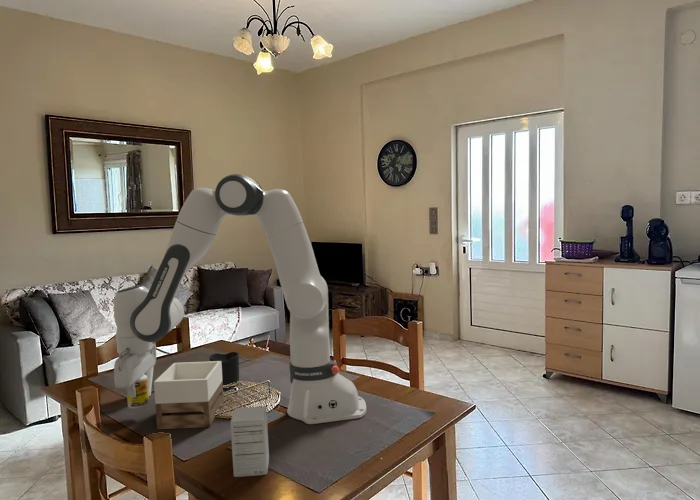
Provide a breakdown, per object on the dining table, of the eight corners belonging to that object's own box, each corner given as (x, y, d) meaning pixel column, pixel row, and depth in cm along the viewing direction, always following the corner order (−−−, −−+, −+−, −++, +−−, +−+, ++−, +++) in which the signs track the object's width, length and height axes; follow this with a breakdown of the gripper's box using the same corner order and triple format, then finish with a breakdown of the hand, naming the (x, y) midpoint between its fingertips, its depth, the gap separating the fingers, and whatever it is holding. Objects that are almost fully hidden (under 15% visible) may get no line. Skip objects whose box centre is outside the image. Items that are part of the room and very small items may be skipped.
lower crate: (223, 403, 147) (222, 380, 146) (209, 426, 131) (208, 401, 130) (176, 405, 146) (175, 382, 146) (157, 429, 130) (155, 403, 130)
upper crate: (222, 380, 146) (221, 361, 146) (208, 401, 130) (207, 379, 130) (175, 382, 146) (174, 362, 145) (155, 403, 130) (153, 381, 129)
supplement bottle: (129, 411, 134) (126, 374, 133) (126, 404, 139) (123, 369, 138) (151, 405, 137) (148, 370, 136) (147, 399, 142) (144, 365, 141)
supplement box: (237, 460, 113) (234, 407, 112) (269, 458, 113) (267, 405, 112) (232, 478, 105) (229, 421, 104) (267, 475, 106) (264, 419, 105)
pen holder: (226, 391, 156) (225, 361, 155) (205, 387, 161) (203, 357, 160) (246, 382, 165) (244, 353, 164) (224, 378, 169) (223, 350, 168)
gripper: (129, 354, 126) (134, 406, 127) (158, 334, 147) (162, 379, 148) (105, 355, 126) (109, 407, 127) (137, 335, 146) (141, 380, 148)
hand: (138, 392), depth 138 cm, fingers closed on supplement bottle, 6 cm apart
